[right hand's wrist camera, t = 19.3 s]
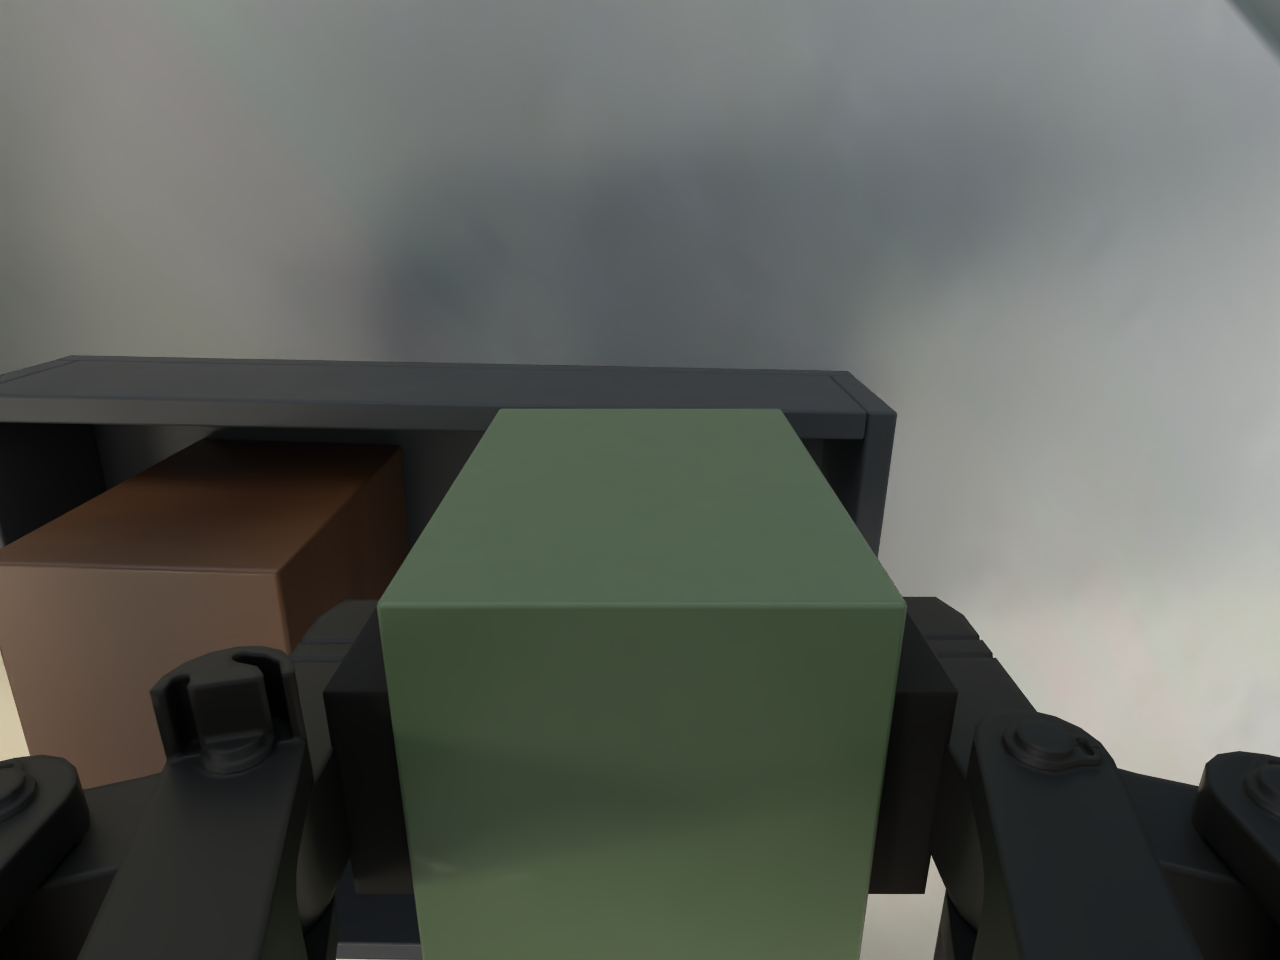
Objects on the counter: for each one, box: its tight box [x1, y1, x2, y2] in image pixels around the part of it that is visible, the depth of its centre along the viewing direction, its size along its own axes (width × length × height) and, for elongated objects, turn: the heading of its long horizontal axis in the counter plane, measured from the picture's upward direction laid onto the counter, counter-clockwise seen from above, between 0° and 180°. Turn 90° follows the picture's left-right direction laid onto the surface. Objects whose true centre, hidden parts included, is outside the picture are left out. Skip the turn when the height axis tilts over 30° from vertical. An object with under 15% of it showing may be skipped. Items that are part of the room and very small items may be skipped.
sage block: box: [377, 409, 907, 960], centre depth 11 cm, size 5×5×7 cm
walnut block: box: [0, 439, 409, 790], centre depth 17 cm, size 5×5×7 cm
